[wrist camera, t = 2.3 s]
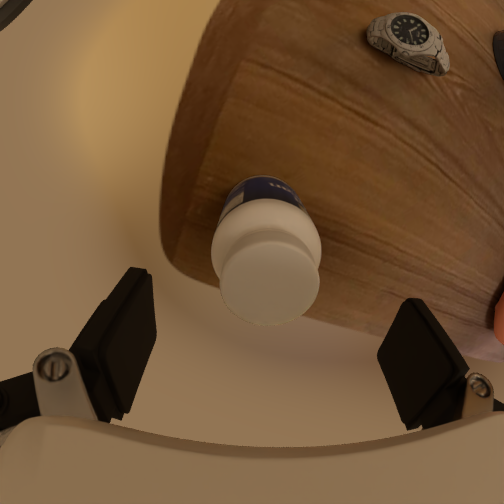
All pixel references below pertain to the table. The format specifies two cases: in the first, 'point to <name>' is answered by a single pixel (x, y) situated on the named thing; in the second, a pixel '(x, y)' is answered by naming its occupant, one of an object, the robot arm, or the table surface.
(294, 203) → the pill bottle
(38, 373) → the robot arm
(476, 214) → the table surface
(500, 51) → the cup
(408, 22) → the wristwatch
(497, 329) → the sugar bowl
